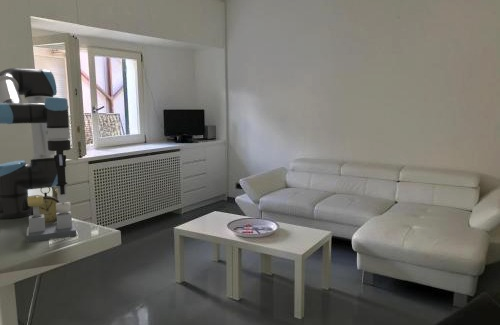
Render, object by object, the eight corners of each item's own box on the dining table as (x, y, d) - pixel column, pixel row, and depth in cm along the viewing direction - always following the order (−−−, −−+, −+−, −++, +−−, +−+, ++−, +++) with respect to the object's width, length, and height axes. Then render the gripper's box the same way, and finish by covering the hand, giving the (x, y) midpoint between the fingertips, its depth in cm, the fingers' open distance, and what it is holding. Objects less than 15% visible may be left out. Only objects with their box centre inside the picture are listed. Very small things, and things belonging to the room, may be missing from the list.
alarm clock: (32, 229, 153) (29, 188, 151) (32, 225, 158) (29, 185, 155) (63, 225, 158) (61, 185, 156) (62, 222, 163) (60, 183, 161)
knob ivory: (56, 223, 150) (55, 202, 149) (71, 221, 153) (69, 200, 152) (57, 226, 146) (55, 205, 145) (72, 224, 148) (70, 203, 147)
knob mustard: (29, 217, 146) (27, 195, 145) (44, 215, 148) (42, 194, 147) (28, 220, 141) (27, 198, 140) (44, 218, 144) (42, 196, 143)
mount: (27, 231, 150) (26, 213, 149) (73, 225, 158) (72, 208, 157) (26, 242, 138) (25, 222, 137) (76, 235, 145) (75, 216, 144)
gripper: (47, 138, 149) (51, 200, 152) (47, 141, 138) (52, 207, 141) (68, 138, 153) (72, 198, 156) (71, 140, 141) (75, 204, 144)
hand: (63, 202), depth 148 cm, fingers closed
